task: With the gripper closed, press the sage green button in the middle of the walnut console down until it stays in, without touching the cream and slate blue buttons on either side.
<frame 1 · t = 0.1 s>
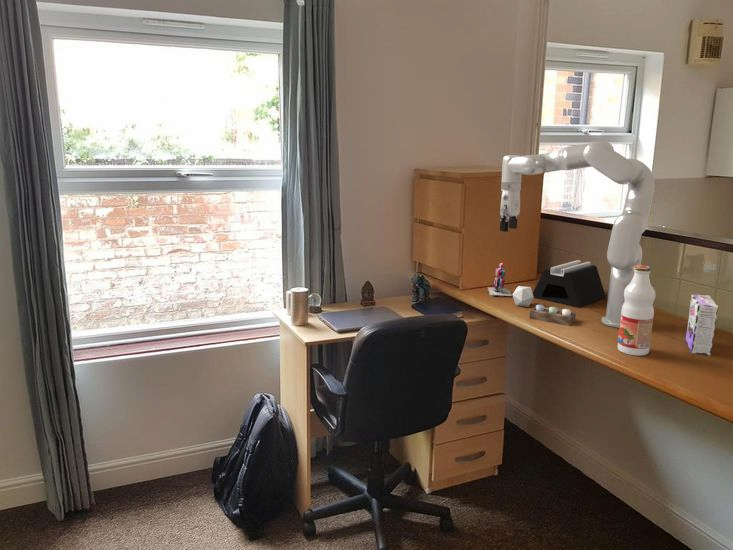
hand: (508, 229, 232), 31 cm above the table, fingers open, 9 cm apart
die: (522, 305, 238), on the table
console: (552, 319, 219), on the table
sage button: (552, 312, 219), point 3 cm above the table, slide at 0.0 cm
slate blue button: (539, 310, 222), point 3 cm above the table, slide at 0.0 cm
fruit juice: (632, 351, 187), on the table
cream button: (566, 314, 216), point 3 cm above the table, slide at 0.0 cm
statue: (499, 294, 256), on the table
candy box: (697, 348, 190), on the table
device stand: (568, 298, 250), on the table
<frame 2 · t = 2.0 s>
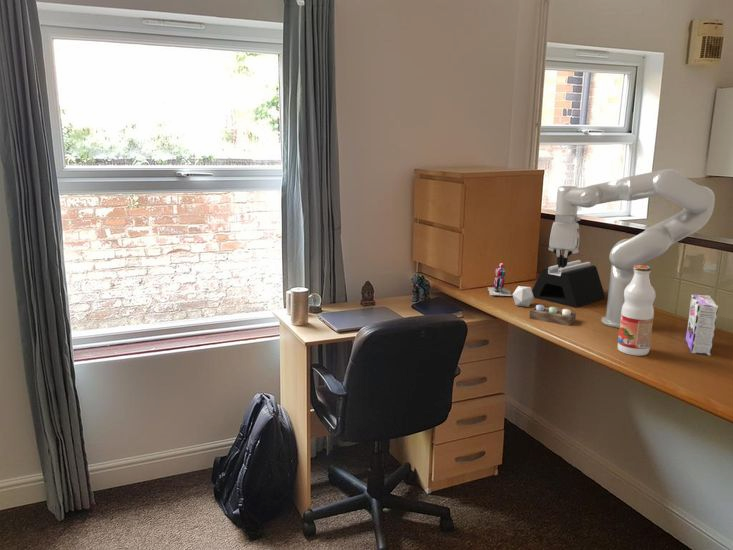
hand: (561, 266, 221), 19 cm above the table, fingers closed
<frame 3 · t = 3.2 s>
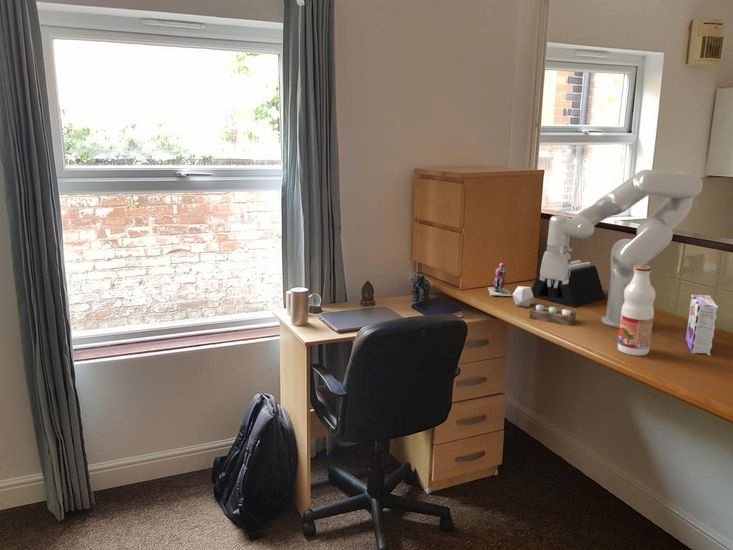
hand: (552, 297, 218), 9 cm above the table, fingers closed
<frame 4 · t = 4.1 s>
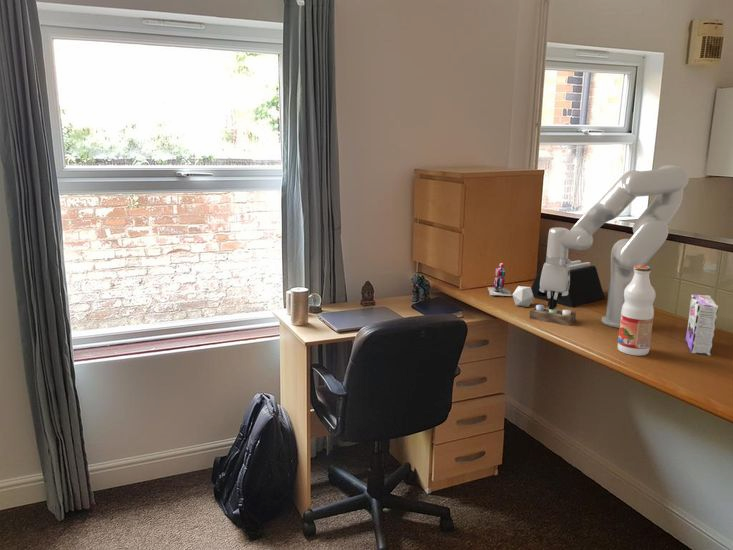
hand: (552, 308, 219), 4 cm above the table, fingers closed
sage button: (552, 313, 219), point 2 cm above the table, slide at 0.3 cm, touching gripper
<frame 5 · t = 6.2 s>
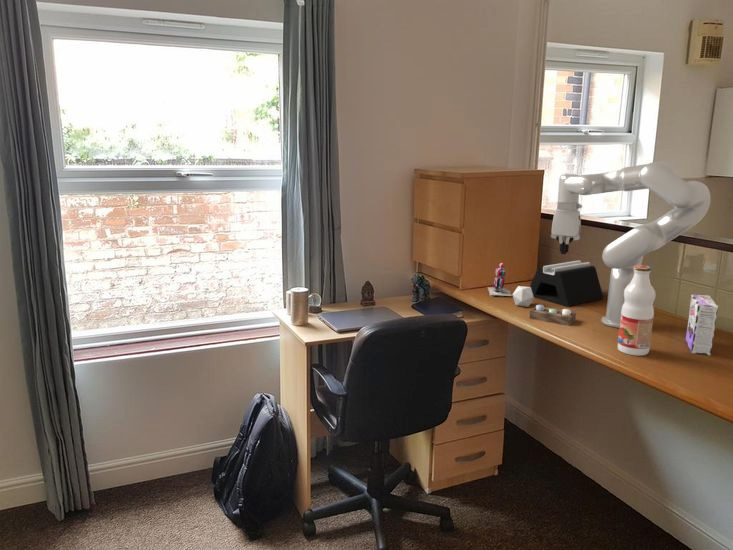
hand: (563, 253, 226), 23 cm above the table, fingers closed
sage button: (552, 314, 219), point 2 cm above the table, slide at 0.7 cm
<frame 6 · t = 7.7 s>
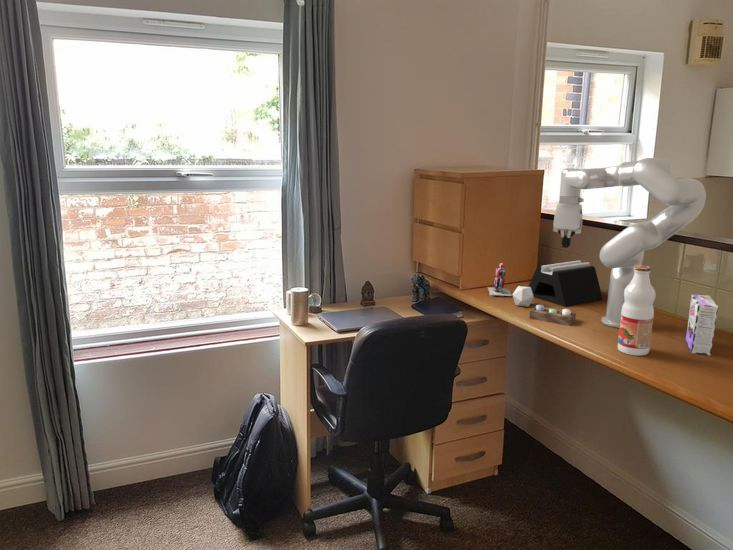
hand: (565, 247, 228), 25 cm above the table, fingers closed
at the end: sage button slide at 0.7 cm; cream button slide at 0.0 cm; slate blue button slide at 0.0 cm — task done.
